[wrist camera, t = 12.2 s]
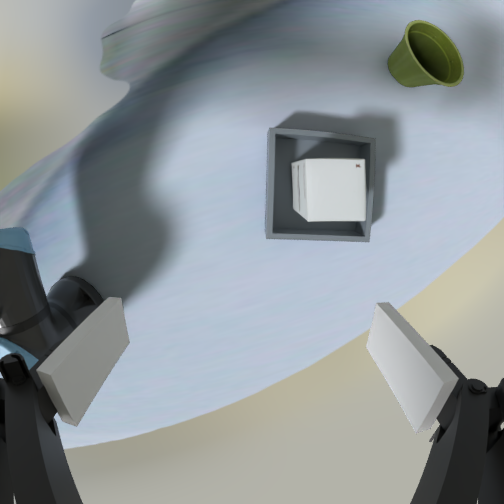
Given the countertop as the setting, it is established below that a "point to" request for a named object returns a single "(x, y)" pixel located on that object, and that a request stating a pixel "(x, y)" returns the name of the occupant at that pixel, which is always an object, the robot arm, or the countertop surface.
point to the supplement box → (329, 189)
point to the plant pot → (426, 57)
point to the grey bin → (281, 190)
